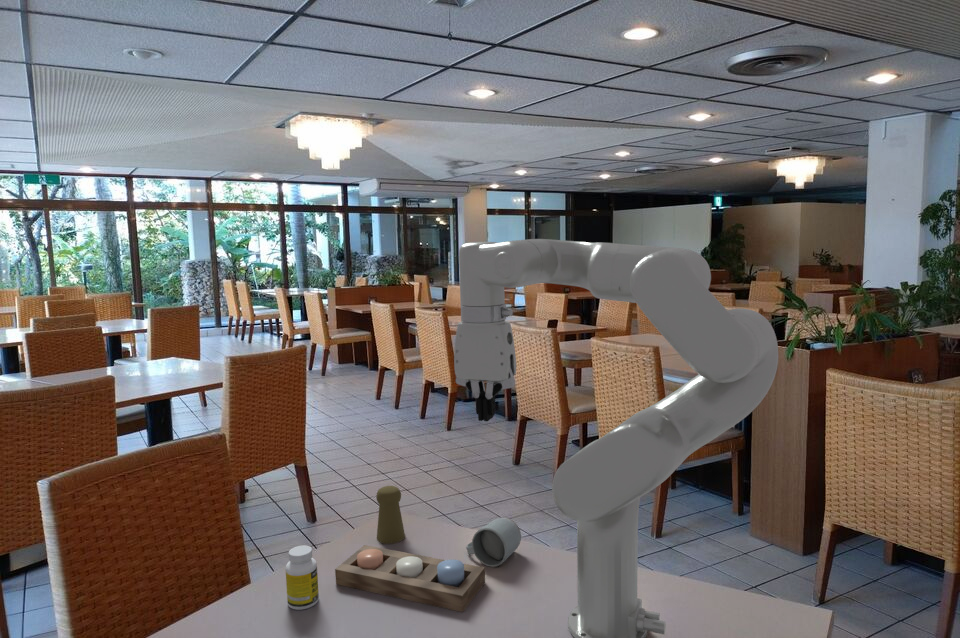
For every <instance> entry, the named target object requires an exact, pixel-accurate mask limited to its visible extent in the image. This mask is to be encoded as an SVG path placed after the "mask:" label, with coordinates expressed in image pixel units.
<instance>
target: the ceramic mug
mask: <svg viewBox="0 0 960 638" xmlns="http://www.w3.org/2000/svg"><path fill="white" fill-rule="evenodd" d="M521 541H522V534H521V530H520V527H519V525H518V524H517V523H516V522H515V521H514V520H512V519H510V518H509V517H497V518H495V519H493V520H492V521H490V522H489V523H488V524H486V525H484V526H482V527H481V528H480V529H478V530H476V532H475V533H474V534H473V537H472V539H471V542H469V543H468V544H466V546H465V548H466V551H467V553H468V555H474V556H475V558H476V559H477V560H478V561H479V562H480V563H481V564H483V565H485V566H487V567H489V568H490V567H491V568H495V567H499V566H501V565H502V564H503V563H504V562H505V561H506V560H507V559H508V558H509V557H510V556H512V555H513V553H514V552H515V551H516V550H518V547H519V546H520V544H521Z"/></svg>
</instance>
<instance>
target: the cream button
mask: <svg viewBox="0 0 960 638" xmlns="http://www.w3.org/2000/svg"><path fill="white" fill-rule="evenodd" d="M396 569H397V575H400V576H405V577H410V578H415V579H416V578H417V577H418V576H419V575H420V574H421V573H422V572H423V566H422V560H421V559H420V558H418V557H414V556H409V557H404V558H401V559H399V560H398V561H397V563H396Z"/></svg>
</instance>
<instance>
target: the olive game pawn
mask: <svg viewBox="0 0 960 638" xmlns="http://www.w3.org/2000/svg"><path fill="white" fill-rule="evenodd" d="M400 490H401V489H400V488H399V487H398V486H396V485H385V486H382V487H380V488H378V490H377V492H376V494H375V495H376V501H377V503H378V518H377V530H376V531H377V532H376V541H377V542H379V543H381V544H386V545H389V544H390V545H391V544H396V543H400V542H402V541H403V540H404V539H405V537H406V534H405V528H404V523H403V519H402V513H401V507H400V501H401V499H402V492H401V491H400Z"/></svg>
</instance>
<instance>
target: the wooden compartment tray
mask: <svg viewBox="0 0 960 638" xmlns="http://www.w3.org/2000/svg"><path fill="white" fill-rule="evenodd" d="M367 549H378V550H380V551H382V553H383V564H381V565H380V566H379V567H378V568H377V569H376V570H371V569H366V568H361V567H358V562H357V555H358V554H359V553H360V552H362V551H364V550H367ZM409 556H414V557H418V558H420V559H421V560H422V566H423V572H422V573H421V574H420V575H419V576H418V577H417V578H416V579H415V578H410V577H405V576H400V575H397V569H396V563H397V561H398V560H399V559H401V558H404V557H409ZM445 560H446V559H441V558H436V557H431V556H426V555H421V554H414V553H409V552H404V551H401V550H400V551H399V550H394V549H387V548H382V547H377V546H373V545H367V544H364V545H363V546H361V547H360V548H359V549H358V550H357V551H356V552H355V551H354V553H353V554H352V555H350V557H348V558H347V559H345V560H344V561H343V562H342V563H340V564H339V566H337V567H336V568H335V569H334V573H335V576H334V577H335V584H336V585H338V586H342V587H343V586H344V587H348V588H352V589H356V590H360V591H365V592H370V593H374V594H379V595H383V596H388V597H393V598H398V599H401V600H404V601H405V600H406V601H411V602H415V603H419V604H424V605H428V606H433V607H438V608H443V609H447V610H452V611H456V612H461V613H464V611H466V609H467V607H468V606H469V605H470V603H471V602H472V601H473V599H475V597H476V595H478V592H479V591H480V590H481V589H482V588H483V586H484V585H485V583H486V570H485V569H486V568H485V567H484V566H479V565H473V564H469V563H463V564H464V581H463V583H462V584H461V585H460V586H459V587H454V586H449V585H444V584H439V583H438V572H437V566H438V564H439V563H440V562H442V561H445Z"/></svg>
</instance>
